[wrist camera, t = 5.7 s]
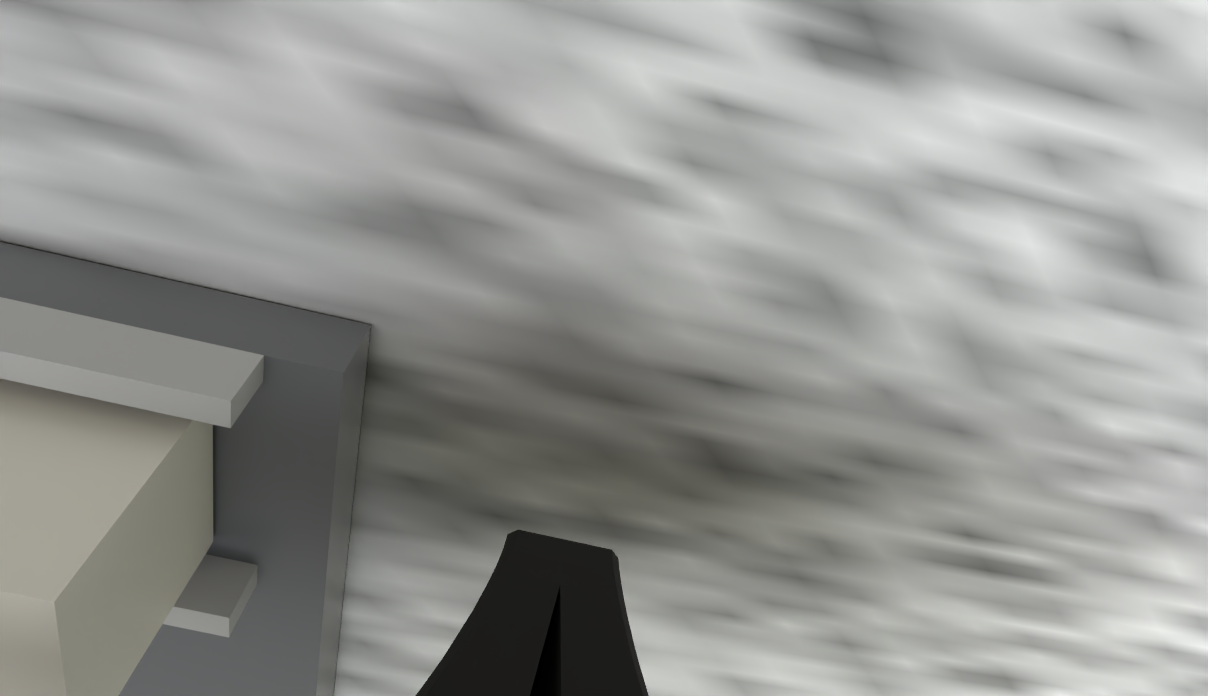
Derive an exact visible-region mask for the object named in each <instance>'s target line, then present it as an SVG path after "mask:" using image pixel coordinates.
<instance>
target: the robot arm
mask: <svg viewBox="0 0 1208 696" xmlns="http://www.w3.org/2000/svg"><path fill="white" fill-rule="evenodd" d="M416 696H648V692H647V689H646V685H645V682H644V679H643V675H642V672H641V669H640V665H639V662H638V658H637V654H636V650H635V647H634V643H633V639H632V634H631V630H630V626H629V621H628V617H627V612H626V607H625V603H624V597H623V592H622V586H621V579H620V572H619V563H618V557H617V556H616V555H615V553H614V552H613V551H612V550H611V549H606V548H601V547H597V546H592V545H587V544H583V543H578V542H573V541H569V540H564V539H559V538H555V537H550V536H545V535H541V534H536V533H531V532H527V531H522V530H516V531H514V532H512V533H510V534H508V535H507V539H506V542H505V545H504V548H503V551H502V554H501V556H500V558H499V561H498V563H497V566H496V568H495V570H494V572H493V574H492V576H491V578H490V580H489V582H488V584H487V586H486V588H485V590H484V591H483V593H482V595H481V597H480V599H479V601H478V602H477V604H476V606H475V608H474V610H473V611H472V613H471V614H470V616H469V618H468V619H467V621H466V622H465V624H464V626H463V627H462V629H461V630H460V632H459V634H458V635H457V637H456V638H455V640H454V642H453V643H452V645H451V646H450V648H449V649H448V651H447V653H446V654H445V656H444V657H443V659H442V660H441V661H440V663H439V664H438V666H437V667H436V669H435V670H434V671H433V673H432V674H431V675H430V677H429V678H428V680H427V681H426V682H425V684H424V685H423V686H422V688H421V689H420V691H419V692H418V693H417V695H416Z"/></svg>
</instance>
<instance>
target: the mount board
mask: <svg viewBox="0 0 1208 696" xmlns="http://www.w3.org/2000/svg"><path fill="white" fill-rule="evenodd" d="M370 329H371V325H368V324H364V323H360V322H355V321H351V320H346V319H342V318H337V317H333V316H328V315H324V314H319V313H315V312H311V311H306V310H302V309H297V308H293V307H288V306H284V305H279V304H275V303H270V302H266V301H261V300H257V299H253V298H248V297H244V296H239V295H235V294H230V293H226V292H221V291H217V290H212V289H208V288H204V287H199V286H195V285H190V284H186V283H181V282H177V281H172V280H168V279H163V278H159V277H155V276H150V275H146V274H141V273H137V272H132V271H128V270H123V269H119V268H114V267H110V266H105V265H101V264H97V263H92V262H88V261H83V260H79V259H74V258H70V257H65V256H61V255H56V254H52V253H48V252H43V251H39V250H34V249H30V248H25V247H21V246H16V245H12V244H7V243H3V242H0V378H1V379H5V380H10V381H15V382H19V383H24V384H29V385H33V386H38V387H42V388H47V389H52V390H56V391H61V392H66V393H70V394H75V395H79V396H84V397H89V398H93V399H98V400H103V401H107V402H112V403H116V404H121V405H126V406H130V407H135V408H139V409H144V410H149V411H153V412H158V413H163V414H167V415H172V416H176V417H181V418H186V419H190V420H195V421H200V422H204V423H209V424H213V543H212V544H211V546H210V548H209V549H208V551H207V553H206V554H205V556H204V557H203V559H202V561H201V562H200V564H199V566H198V567H197V569H196V570H195V572H194V574H193V575H192V577H191V579H190V580H189V582H188V583H187V585H186V587H185V588H184V590H183V592H182V593H181V595H180V596H179V598H178V600H177V601H176V603H175V605H174V606H173V608H172V609H171V611H170V613H169V614H168V616H167V618H166V619H165V621H164V622H163V624H162V626H161V627H160V629H159V631H158V632H157V634H156V635H155V637H154V639H153V640H152V642H151V644H150V645H149V647H148V648H147V650H146V652H145V653H144V655H143V657H142V658H141V660H140V661H139V663H138V665H137V666H136V668H135V670H134V671H133V673H132V674H131V676H130V678H129V679H128V681H127V683H126V684H125V686H124V687H123V689H122V691H121V692H120V694H119V696H333V694H334V685H335V675H336V665H337V655H338V645H339V635H340V625H341V616H342V606H343V596H344V586H345V576H346V566H347V556H348V546H349V537H350V527H351V517H352V507H353V497H354V487H355V477H356V467H357V458H358V448H359V438H360V428H361V418H362V408H363V398H364V388H365V379H366V369H367V359H368V349H369V339H370Z"/></svg>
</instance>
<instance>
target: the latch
mask: <svg viewBox="0 0 1208 696" xmlns="http://www.w3.org/2000/svg"><path fill="white" fill-rule="evenodd" d="M212 543H213V424H209V423H204V422H200V421H195V420H190V419H186V418H181V417H176V416H172V415H167V414H163V413H158V412H153V411H149V410H144V409H139V408H135V407H130V406H126V405H121V404H116V403H112V402H107V401H103V400H98V399H93V398H89V397H84V396H79V395H75V394H70V393H66V392H61V391H56V390H52V389H47V388H42V387H38V386H33V385H29V384H24V383H19V382H15V381H10V380H5V379H1V378H0V696H119V694H120V692H121V691H122V689H123V687H124V686H125V684H126V683H127V681H128V679H129V678H130V676H131V674H132V673H133V671H134V670H135V668H136V666H137V665H138V663H139V661H140V660H141V658H142V657H143V655H144V653H145V652H146V650H147V648H148V647H149V645H150V644H151V642H152V640H153V639H154V637H155V635H156V634H157V632H158V631H159V629H160V627H161V626H162V624H163V622H164V621H165V619H166V618H167V616H168V614H169V613H170V611H171V609H172V608H173V606H174V605H175V603H176V601H177V600H178V598H179V596H180V595H181V593H182V592H183V590H184V588H185V587H186V585H187V583H188V582H189V580H190V579H191V577H192V575H193V574H194V572H195V570H196V569H197V567H198V566H199V564H200V562H201V561H202V559H203V557H204V556H205V554H206V553H207V551H208V549H209V548H210V546H211V544H212Z"/></svg>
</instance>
